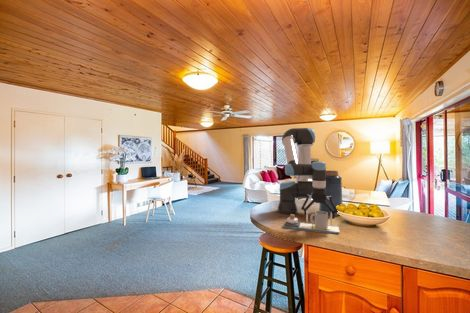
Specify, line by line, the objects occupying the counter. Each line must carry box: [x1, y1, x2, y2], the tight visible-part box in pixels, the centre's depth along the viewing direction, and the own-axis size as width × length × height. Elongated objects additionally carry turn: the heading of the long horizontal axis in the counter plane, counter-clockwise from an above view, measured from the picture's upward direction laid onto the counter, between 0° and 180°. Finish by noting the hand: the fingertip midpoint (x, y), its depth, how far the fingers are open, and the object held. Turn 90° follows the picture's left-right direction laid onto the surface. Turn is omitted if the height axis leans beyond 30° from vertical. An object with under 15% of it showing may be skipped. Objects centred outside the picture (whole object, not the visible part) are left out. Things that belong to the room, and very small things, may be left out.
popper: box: [286, 214, 299, 224], centre depth 138 cm, size 6×6×4 cm
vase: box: [318, 170, 343, 217], centre depth 165 cm, size 16×16×32 cm
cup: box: [310, 210, 329, 229], centre depth 132 cm, size 7×10×9 cm
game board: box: [283, 220, 340, 235], centre depth 134 cm, size 11×31×2 cm, turn 69°
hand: (318, 222), depth 132 cm, fingers open, 13 cm apart
